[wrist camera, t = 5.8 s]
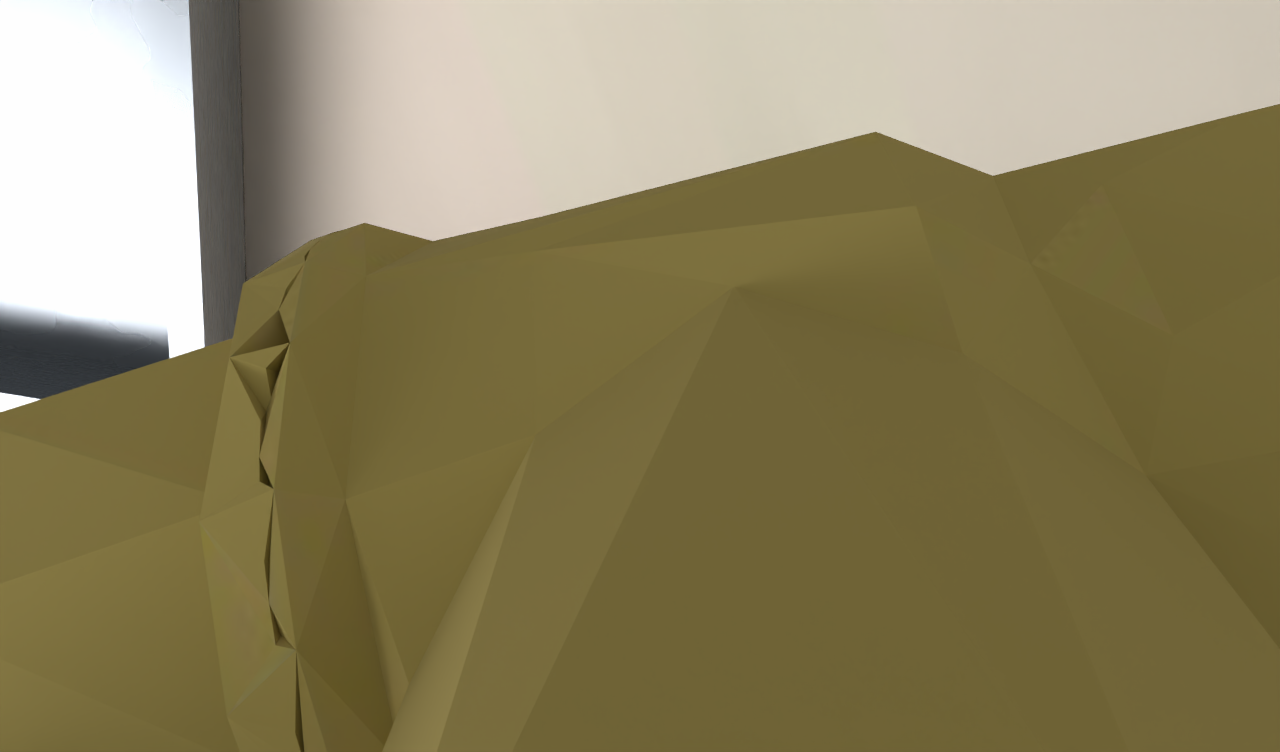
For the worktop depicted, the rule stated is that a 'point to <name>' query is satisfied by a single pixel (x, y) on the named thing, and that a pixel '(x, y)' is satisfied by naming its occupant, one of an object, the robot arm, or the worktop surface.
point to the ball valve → (694, 477)
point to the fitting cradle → (116, 187)
